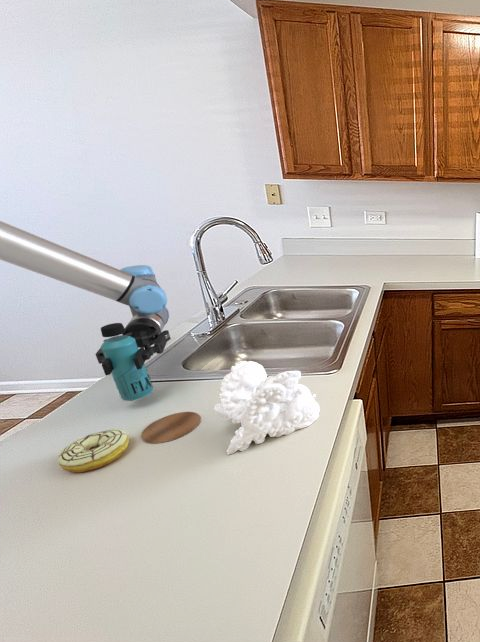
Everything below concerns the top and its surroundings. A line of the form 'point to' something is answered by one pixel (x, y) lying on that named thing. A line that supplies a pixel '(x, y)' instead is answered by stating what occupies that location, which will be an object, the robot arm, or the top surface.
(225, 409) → the white ornate sculpture
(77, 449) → the decorated donut
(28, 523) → the top surface
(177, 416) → the cork coaster
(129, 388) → the beverage bottle
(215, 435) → the top surface
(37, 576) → the top surface
